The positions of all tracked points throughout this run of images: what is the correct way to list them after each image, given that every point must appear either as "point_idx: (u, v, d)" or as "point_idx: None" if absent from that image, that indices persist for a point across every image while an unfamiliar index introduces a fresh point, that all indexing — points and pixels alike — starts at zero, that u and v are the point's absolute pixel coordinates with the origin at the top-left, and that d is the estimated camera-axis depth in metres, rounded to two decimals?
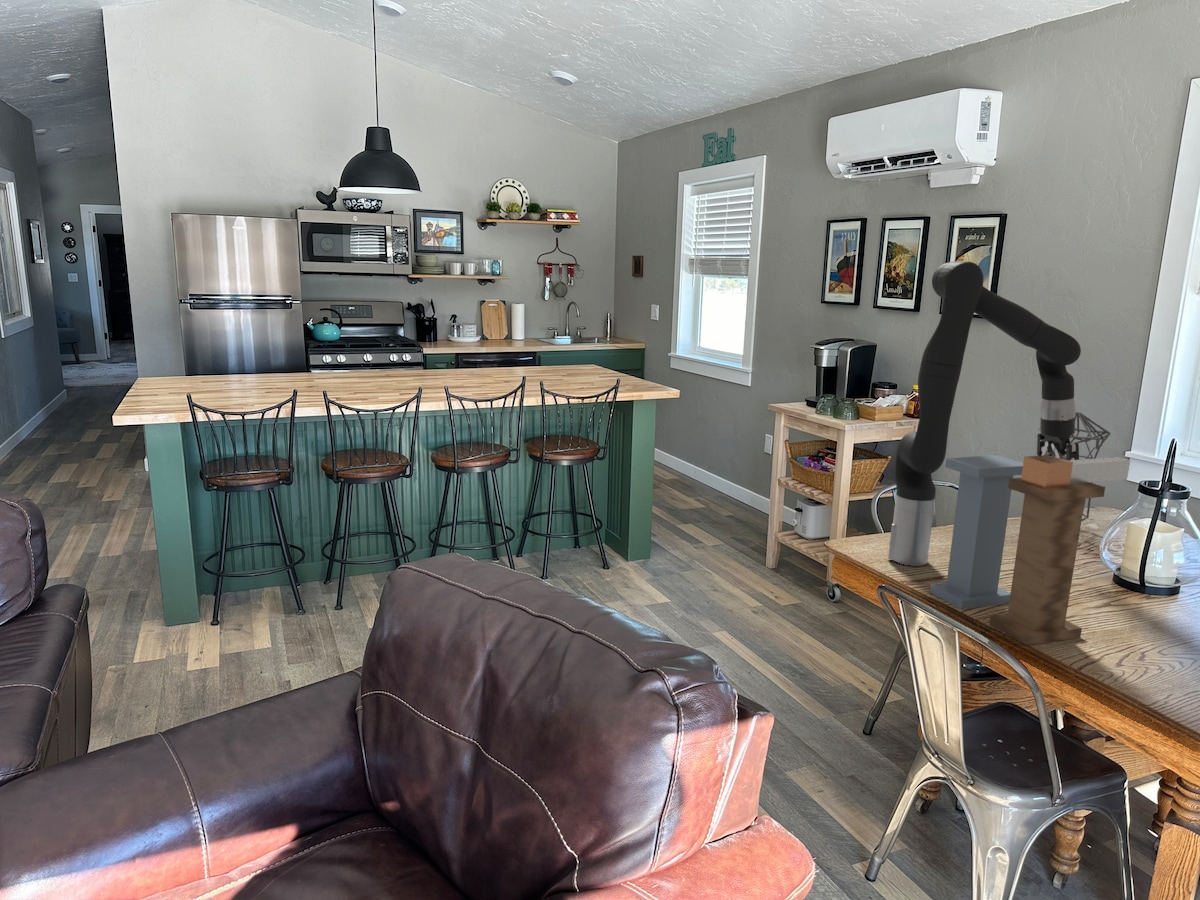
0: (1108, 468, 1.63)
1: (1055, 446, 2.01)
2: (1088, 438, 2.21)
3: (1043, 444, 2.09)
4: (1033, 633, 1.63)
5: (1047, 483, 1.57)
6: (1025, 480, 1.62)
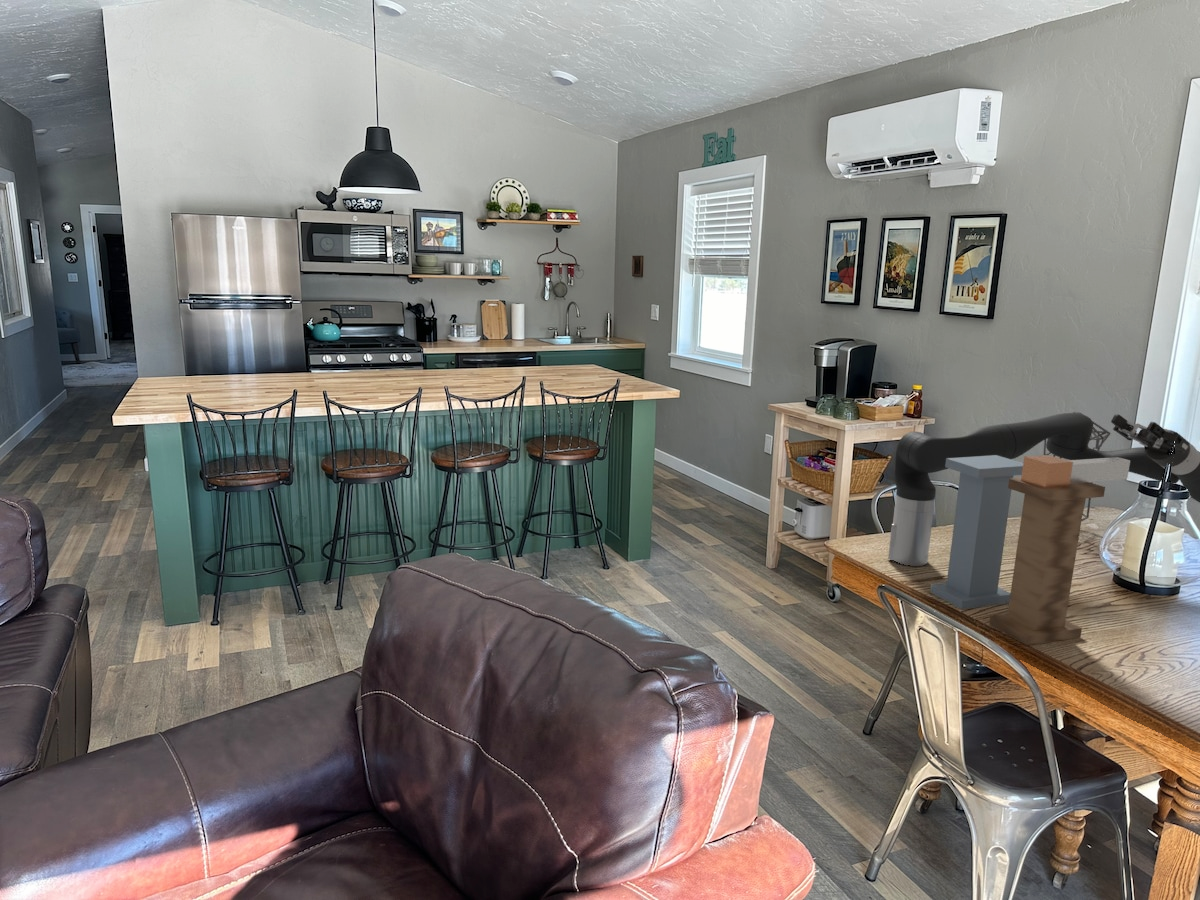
0: (1108, 468, 1.63)
1: None
2: None
3: None
4: (1033, 633, 1.63)
5: (1047, 483, 1.57)
6: (1025, 480, 1.62)
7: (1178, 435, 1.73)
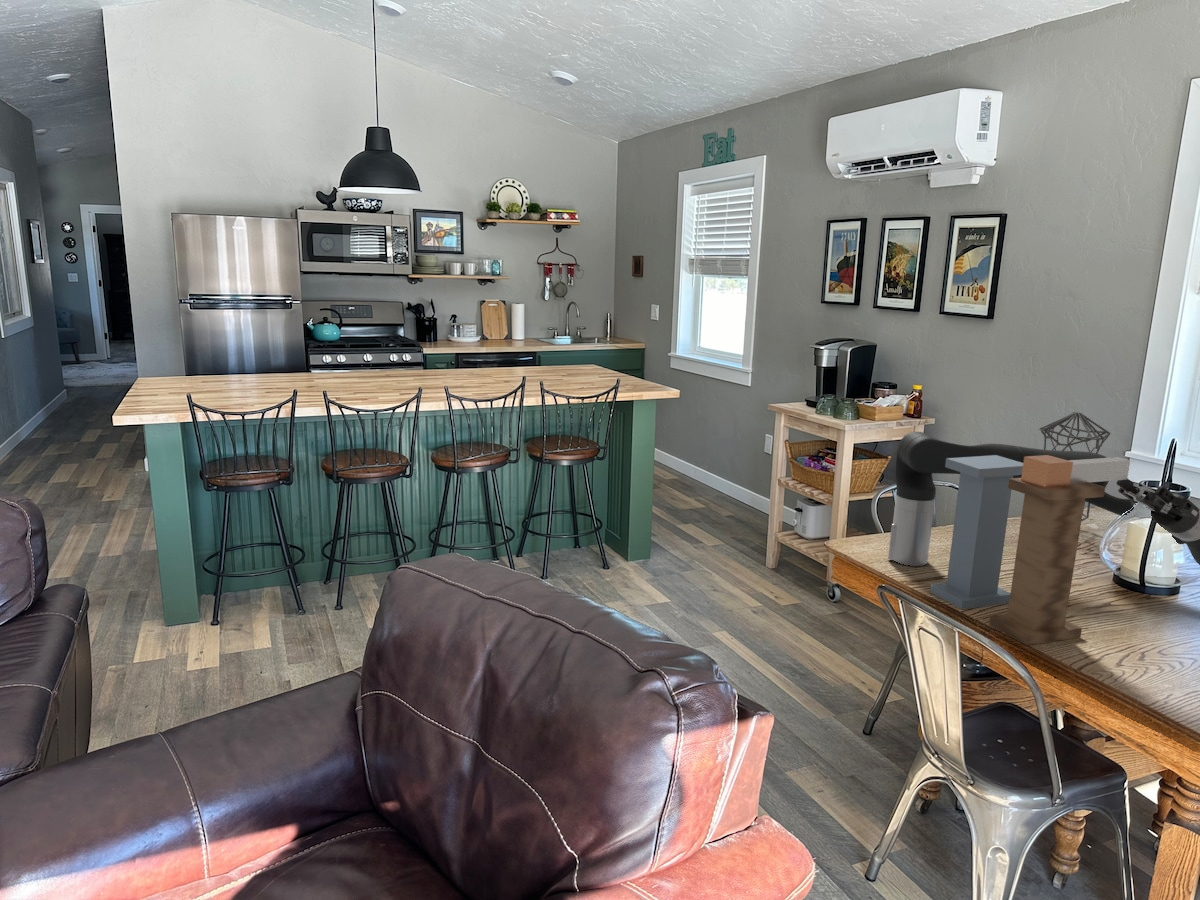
0: (1108, 468, 1.63)
1: None
2: (1088, 438, 2.21)
3: None
4: (1033, 633, 1.63)
5: (1047, 483, 1.57)
6: (1025, 480, 1.62)
7: (1188, 501, 1.64)
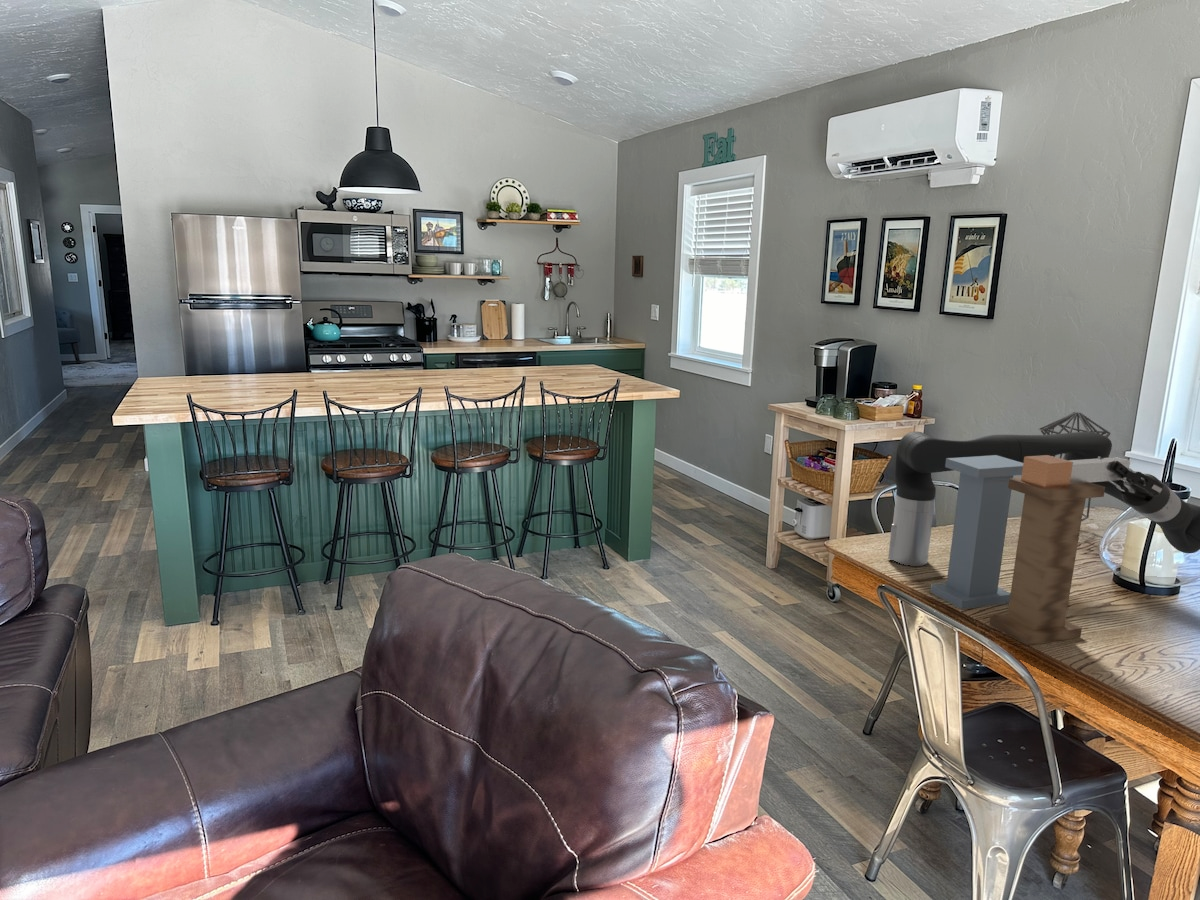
0: (1108, 468, 1.63)
1: None
2: None
3: None
4: (1033, 633, 1.63)
5: (1046, 483, 1.57)
6: (1025, 480, 1.62)
7: (1141, 474, 1.62)
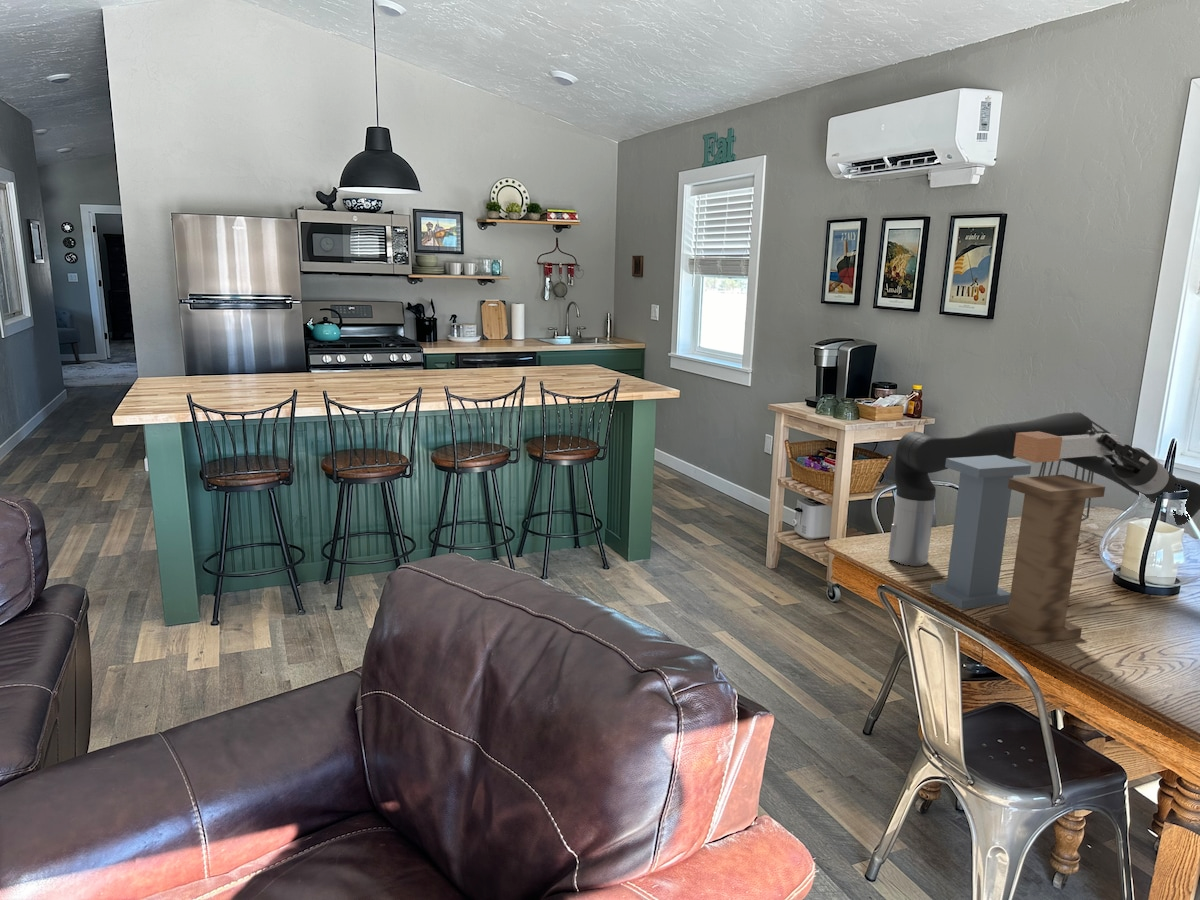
0: (1097, 443, 1.71)
1: None
2: None
3: None
4: (1033, 633, 1.63)
5: (1037, 457, 1.65)
6: (1017, 455, 1.70)
7: (1129, 447, 1.70)
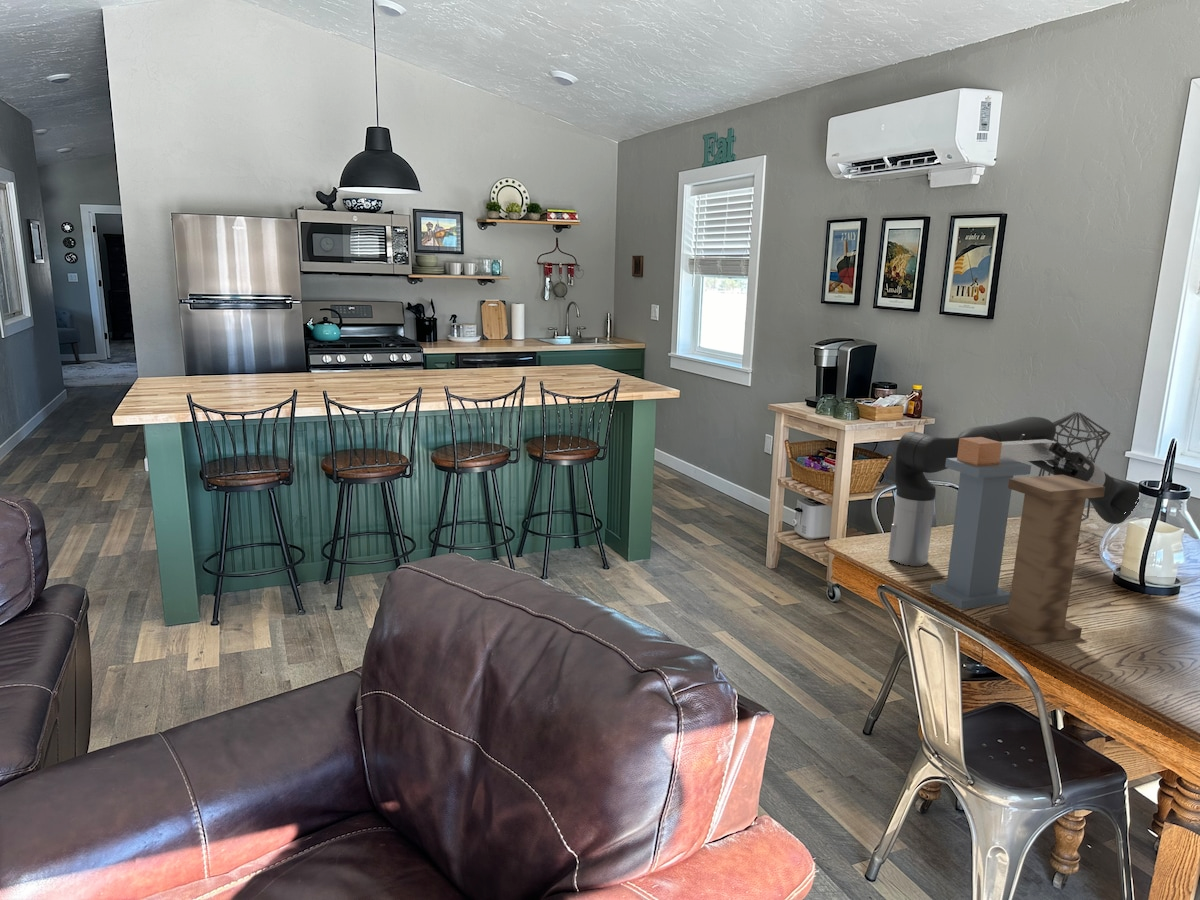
0: (1036, 449, 1.80)
1: None
2: (1088, 438, 2.21)
3: None
4: (1033, 633, 1.63)
5: (978, 461, 1.74)
6: (960, 459, 1.78)
7: (1079, 455, 1.77)
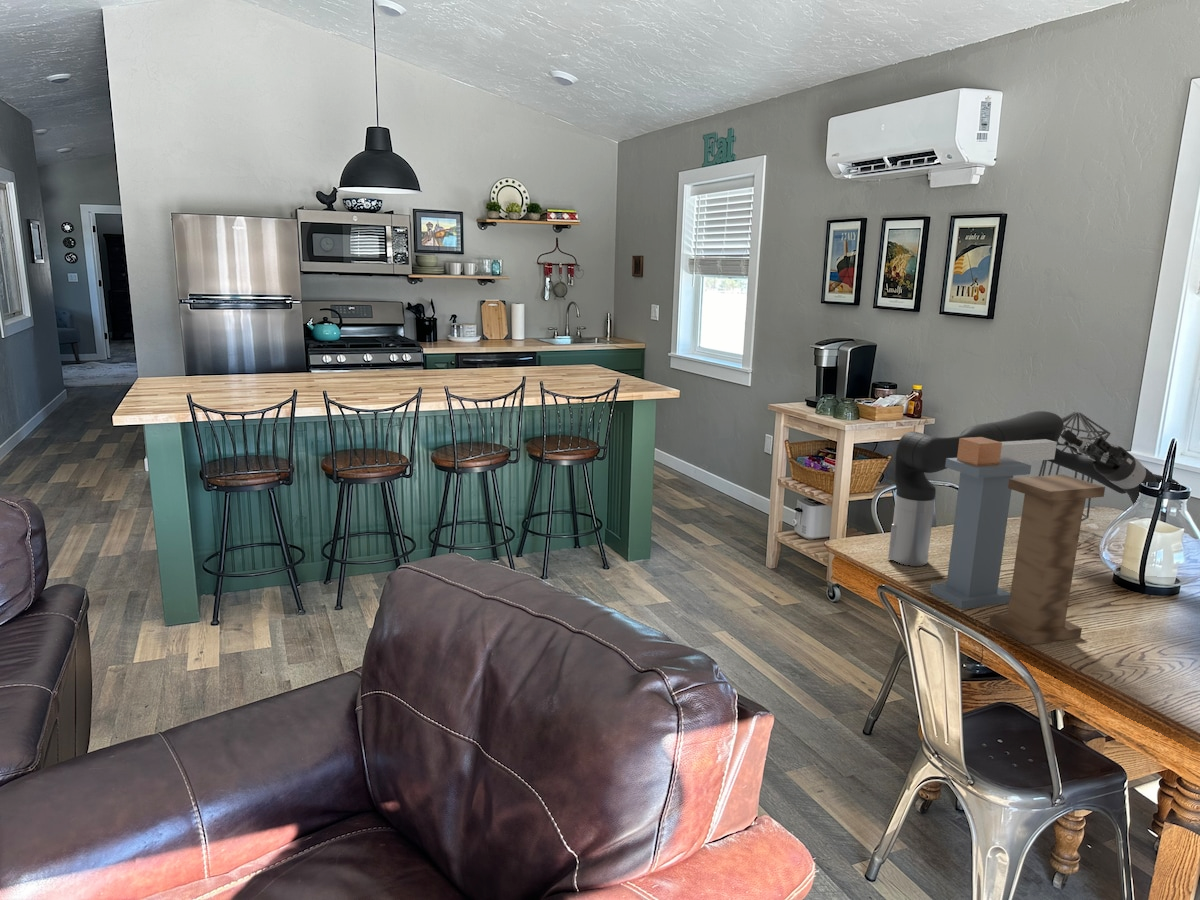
0: (1036, 449, 1.80)
1: None
2: (1088, 438, 2.21)
3: None
4: (1033, 633, 1.63)
5: (978, 461, 1.74)
6: (960, 459, 1.78)
7: (1123, 450, 1.81)
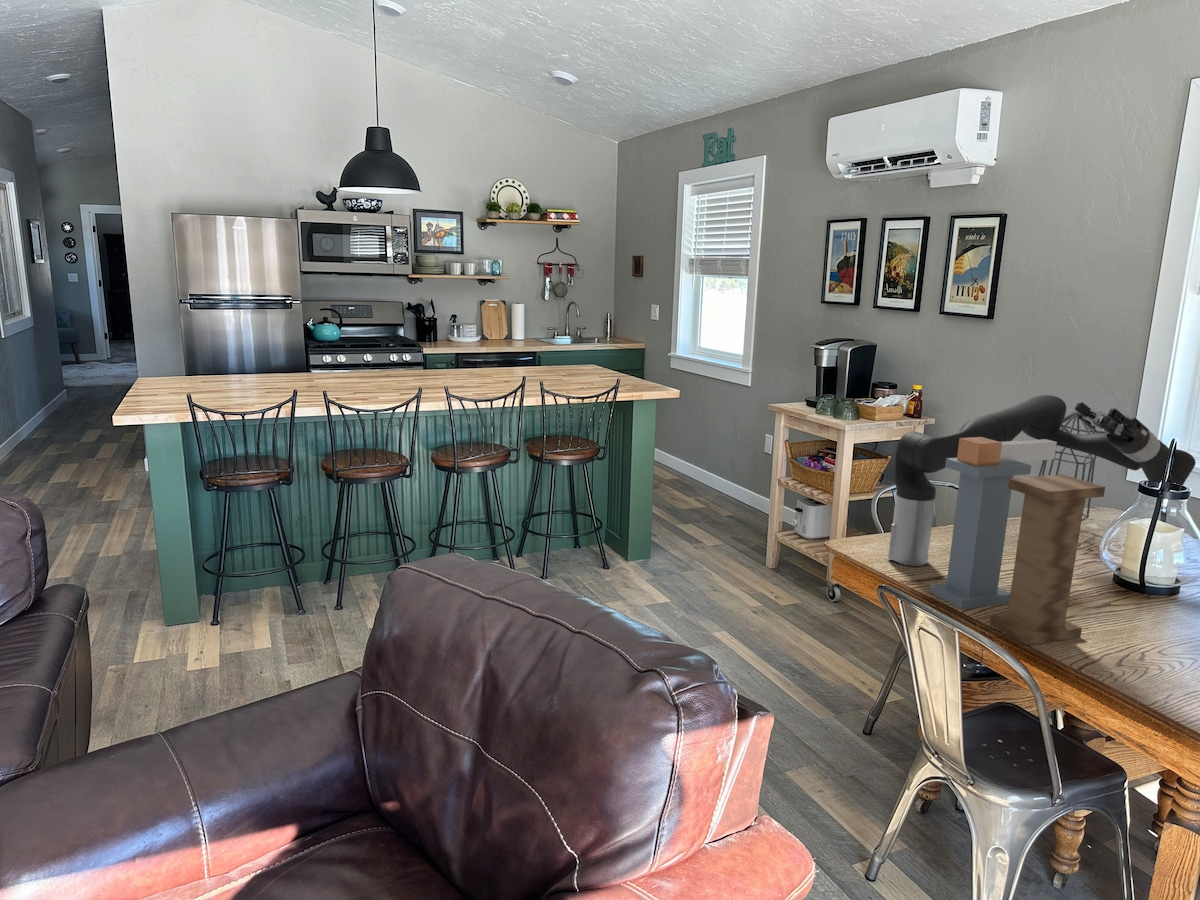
0: (1036, 449, 1.80)
1: None
2: None
3: None
4: (1033, 633, 1.63)
5: (978, 461, 1.74)
6: (960, 459, 1.78)
7: (1137, 421, 1.80)
